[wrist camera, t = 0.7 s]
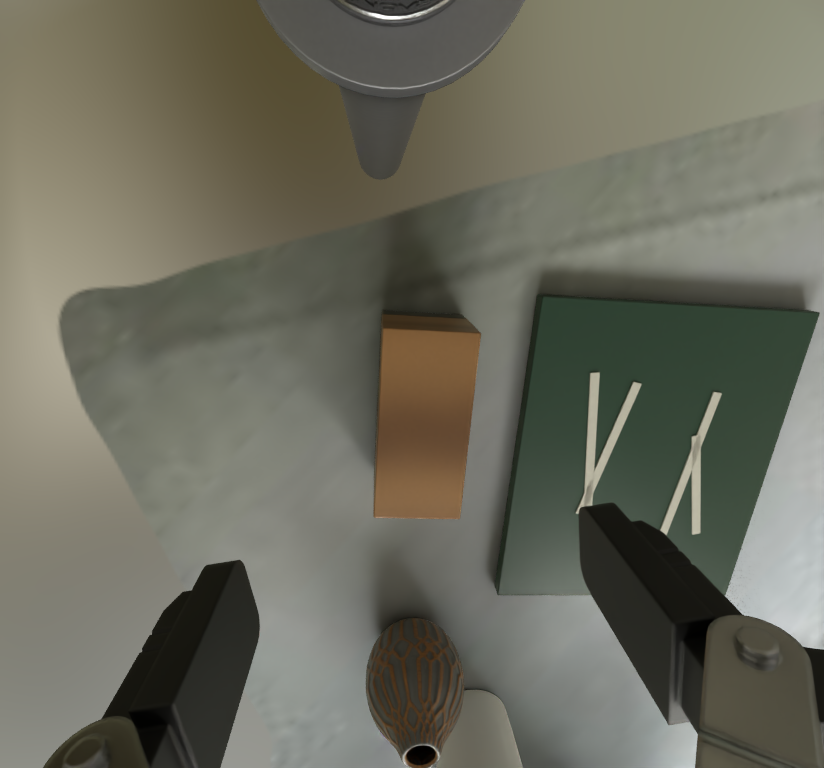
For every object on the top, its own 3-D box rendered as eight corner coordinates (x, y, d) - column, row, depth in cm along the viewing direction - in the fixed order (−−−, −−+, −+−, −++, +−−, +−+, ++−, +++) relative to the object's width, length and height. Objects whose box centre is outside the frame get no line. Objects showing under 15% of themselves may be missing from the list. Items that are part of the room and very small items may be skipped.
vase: (473, 634, 37) (500, 751, 29) (411, 684, 38) (420, 811, 30) (411, 587, 35) (421, 697, 27) (348, 641, 36) (339, 763, 28)
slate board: (537, 293, 29) (543, 296, 28) (806, 310, 31) (821, 312, 30) (494, 585, 36) (497, 596, 35) (716, 586, 37) (726, 597, 36)
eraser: (381, 309, 29) (382, 327, 23) (462, 314, 29) (481, 332, 24) (374, 471, 32) (373, 518, 27) (446, 472, 32) (460, 519, 27)
